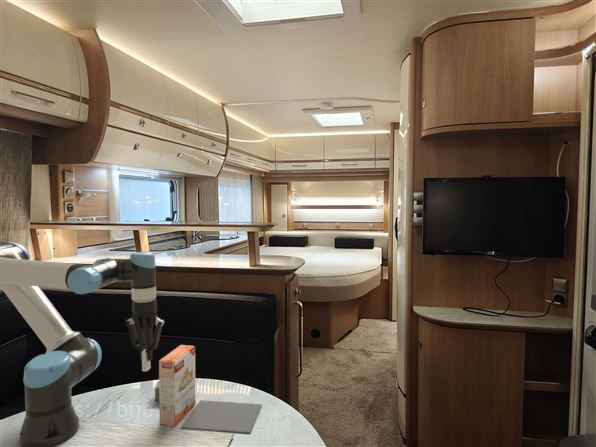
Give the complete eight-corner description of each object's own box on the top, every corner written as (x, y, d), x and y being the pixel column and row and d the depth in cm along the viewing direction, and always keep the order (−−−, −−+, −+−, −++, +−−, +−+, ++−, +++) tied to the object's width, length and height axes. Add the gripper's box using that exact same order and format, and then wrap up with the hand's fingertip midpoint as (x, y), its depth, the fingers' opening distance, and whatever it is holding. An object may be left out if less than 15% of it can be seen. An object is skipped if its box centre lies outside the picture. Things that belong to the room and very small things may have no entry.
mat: (180, 428, 119) (180, 427, 119) (200, 401, 135) (200, 400, 135) (250, 433, 117) (250, 432, 117) (261, 405, 132) (261, 404, 132)
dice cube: (155, 401, 135) (154, 388, 135) (158, 394, 140) (157, 381, 140) (169, 400, 136) (169, 387, 135) (172, 393, 141) (172, 380, 140)
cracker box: (176, 427, 120) (175, 362, 118) (158, 425, 121) (157, 360, 120) (197, 404, 133) (195, 345, 132) (181, 402, 135) (179, 343, 133)
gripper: (168, 297, 129) (170, 365, 131) (131, 296, 131) (134, 363, 132) (157, 303, 122) (159, 375, 123) (119, 302, 123) (121, 373, 125)
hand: (146, 369), depth 128 cm, fingers closed
